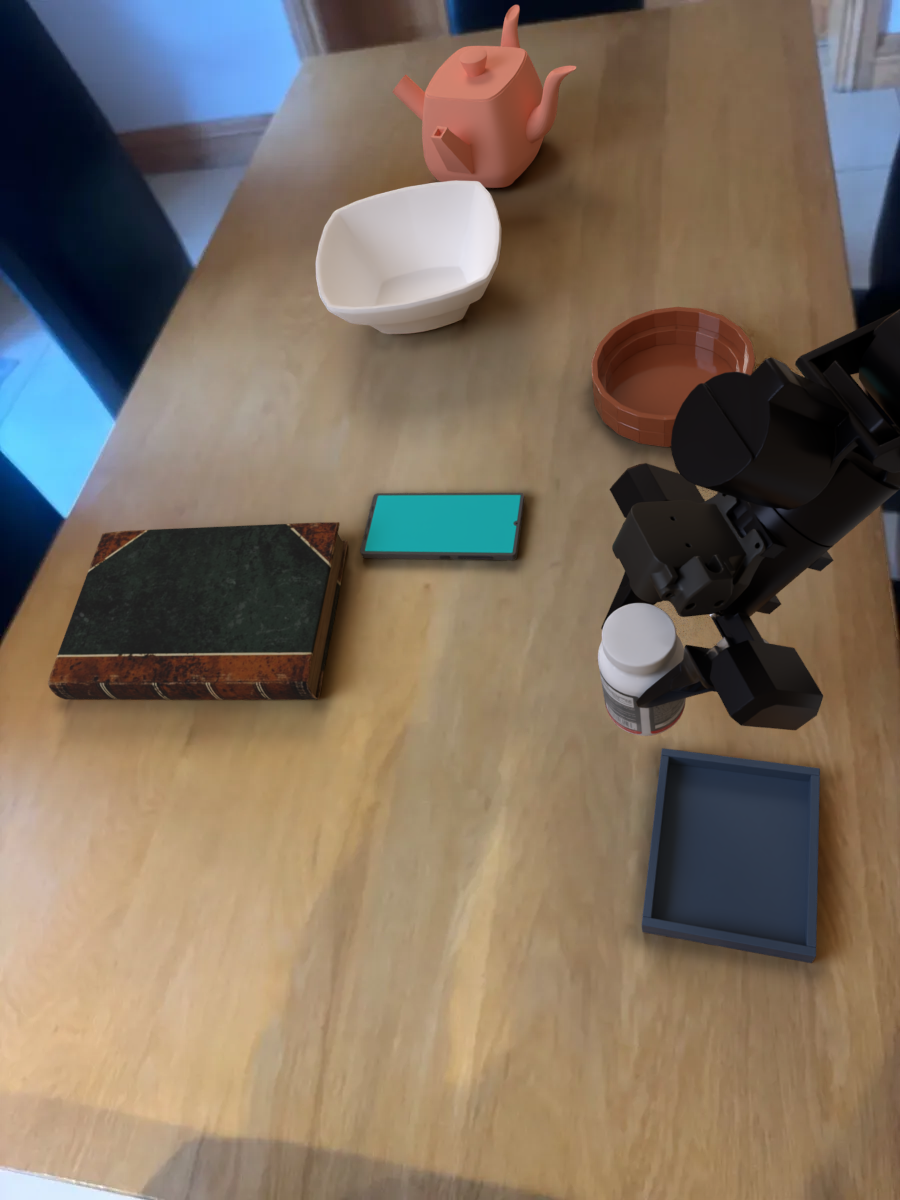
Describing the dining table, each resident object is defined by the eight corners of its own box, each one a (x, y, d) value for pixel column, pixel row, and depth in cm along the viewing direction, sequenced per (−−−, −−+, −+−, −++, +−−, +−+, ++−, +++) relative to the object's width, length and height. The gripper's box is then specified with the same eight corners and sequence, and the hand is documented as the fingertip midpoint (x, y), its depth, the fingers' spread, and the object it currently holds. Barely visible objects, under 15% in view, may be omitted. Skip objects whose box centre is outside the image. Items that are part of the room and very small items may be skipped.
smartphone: (374, 493, 90) (524, 492, 86) (376, 498, 91) (525, 498, 87) (358, 554, 86) (515, 556, 83) (361, 559, 87) (516, 561, 83)
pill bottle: (679, 663, 67) (679, 590, 59) (691, 734, 64) (693, 667, 56) (600, 672, 68) (590, 601, 60) (609, 742, 65) (598, 678, 57)
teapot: (529, 105, 124) (516, -5, 113) (585, 171, 113) (576, 57, 102) (405, 154, 123) (379, 48, 112) (450, 225, 113) (426, 116, 102)
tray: (661, 758, 71) (661, 747, 69) (816, 778, 68) (820, 767, 66) (642, 932, 64) (641, 925, 62) (812, 963, 61) (816, 956, 59)
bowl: (334, 383, 101) (309, 322, 94) (340, 265, 113) (318, 204, 106) (518, 350, 98) (507, 285, 91) (505, 233, 110) (494, 167, 103)
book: (350, 542, 89) (119, 550, 94) (339, 519, 86) (101, 530, 91) (319, 704, 79) (65, 703, 85) (306, 685, 76) (44, 685, 82)
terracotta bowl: (679, 317, 96) (679, 286, 93) (785, 391, 88) (789, 360, 85) (564, 390, 94) (560, 361, 91) (662, 474, 86) (662, 445, 82)
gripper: (633, 365, 52) (486, 543, 62) (792, 622, 42) (585, 791, 51) (753, 414, 59) (604, 569, 68) (918, 647, 48) (714, 793, 57)
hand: (623, 667), depth 61 cm, fingers closed on pill bottle, 6 cm apart
